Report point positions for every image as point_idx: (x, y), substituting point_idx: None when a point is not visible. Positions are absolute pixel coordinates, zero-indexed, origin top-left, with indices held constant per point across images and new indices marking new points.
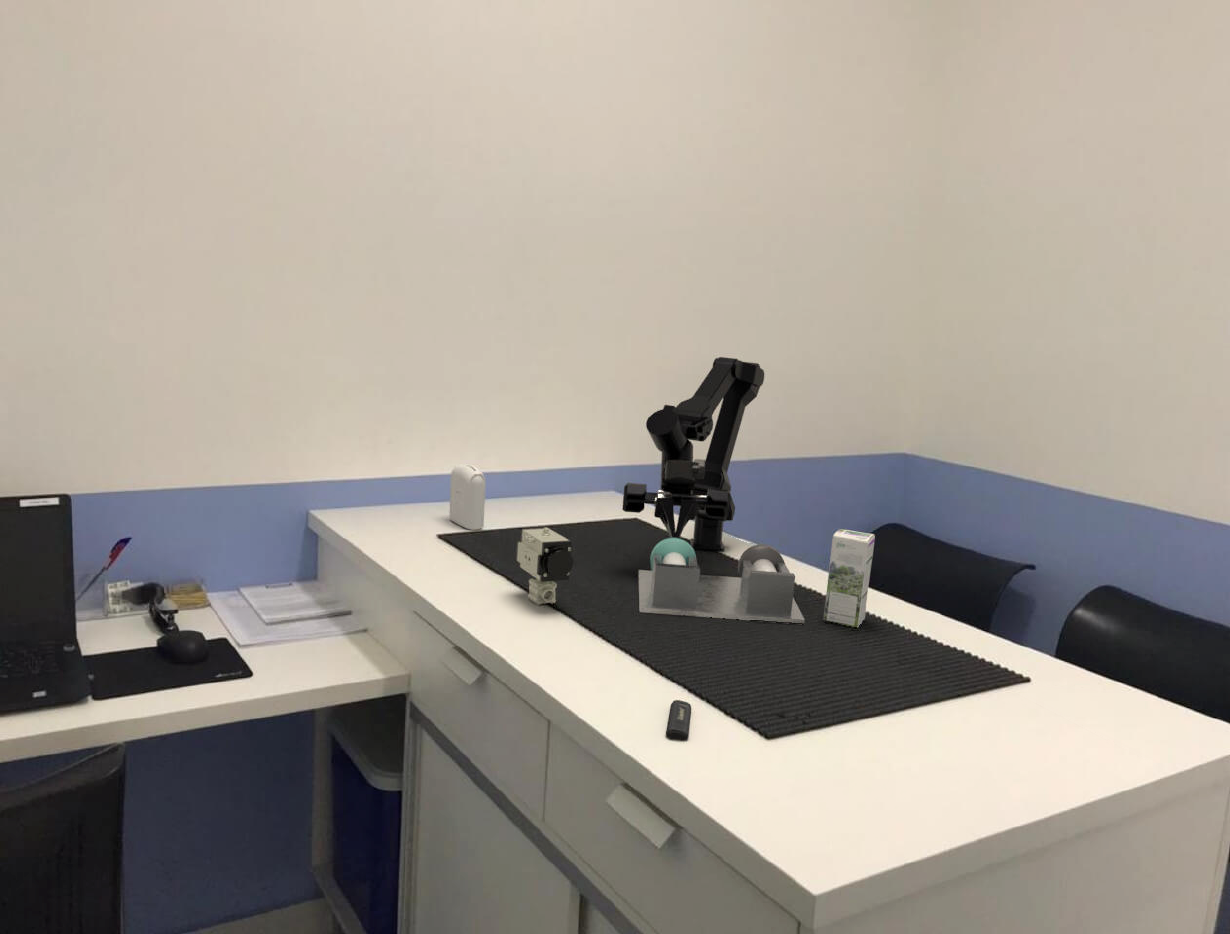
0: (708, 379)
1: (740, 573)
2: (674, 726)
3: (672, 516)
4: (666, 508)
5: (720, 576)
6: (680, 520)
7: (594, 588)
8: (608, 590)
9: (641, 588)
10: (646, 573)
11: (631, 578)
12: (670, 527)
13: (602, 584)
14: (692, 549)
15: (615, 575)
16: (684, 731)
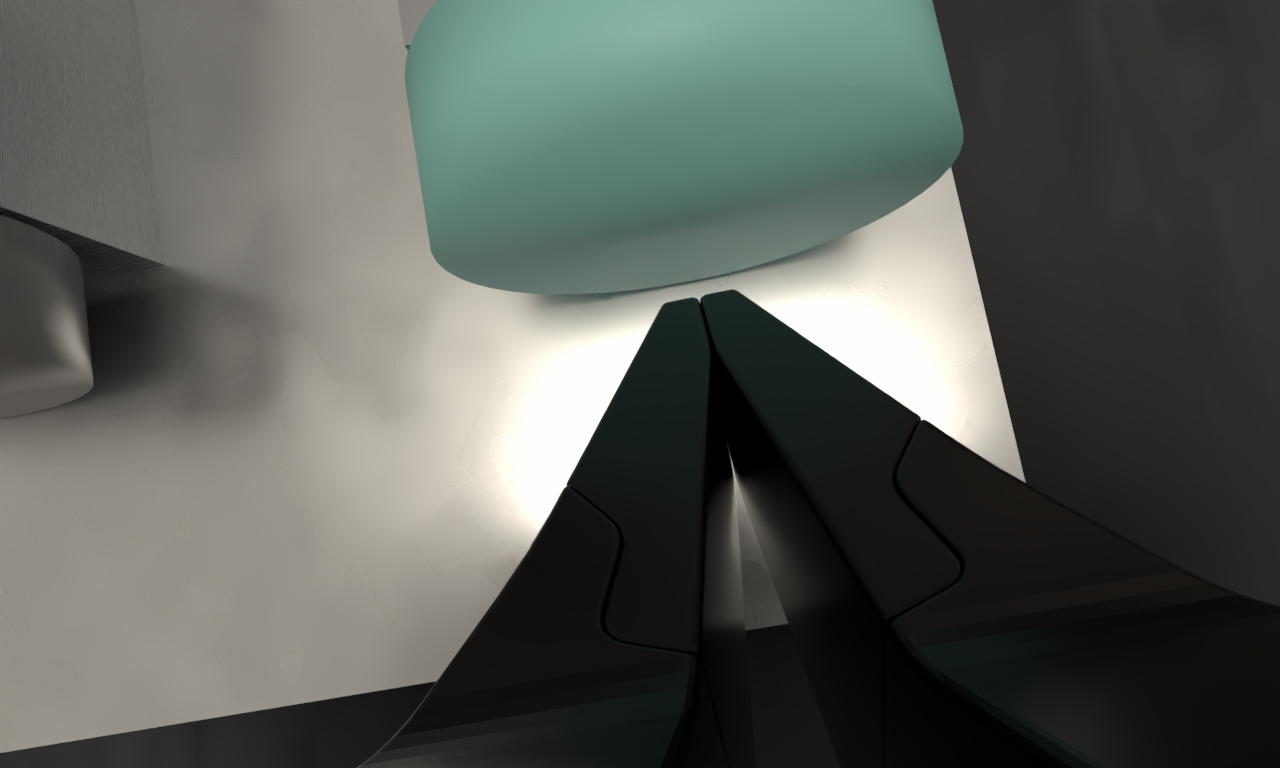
0: None
1: (41, 236)
2: None
3: (876, 519)
4: (1233, 642)
5: (324, 686)
6: (643, 506)
7: (1274, 11)
8: (1152, 13)
9: None
10: None
11: (1058, 422)
12: (834, 365)
13: (1245, 144)
14: (427, 71)
15: (1215, 451)
16: None
